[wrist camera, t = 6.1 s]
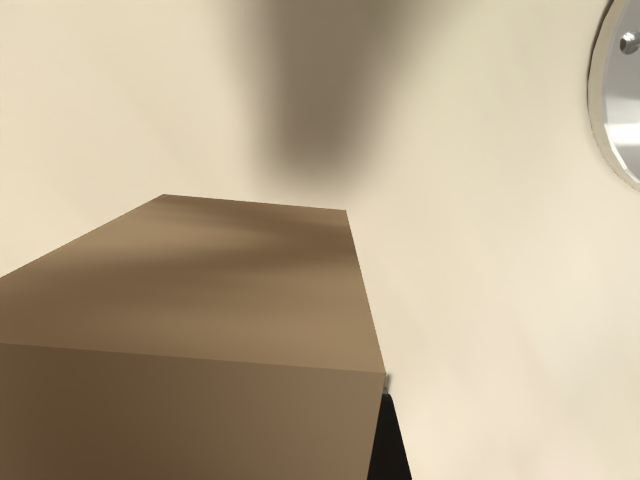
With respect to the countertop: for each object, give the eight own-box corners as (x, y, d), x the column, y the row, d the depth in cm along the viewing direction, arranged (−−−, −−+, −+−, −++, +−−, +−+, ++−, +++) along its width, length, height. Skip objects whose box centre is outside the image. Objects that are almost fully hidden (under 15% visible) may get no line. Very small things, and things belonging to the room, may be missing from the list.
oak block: (345, 210, 9) (386, 373, 3) (315, 475, 12) (309, 797, 6) (162, 194, 9) (-111, 334, 3) (177, 465, 12) (45, 786, 6)
